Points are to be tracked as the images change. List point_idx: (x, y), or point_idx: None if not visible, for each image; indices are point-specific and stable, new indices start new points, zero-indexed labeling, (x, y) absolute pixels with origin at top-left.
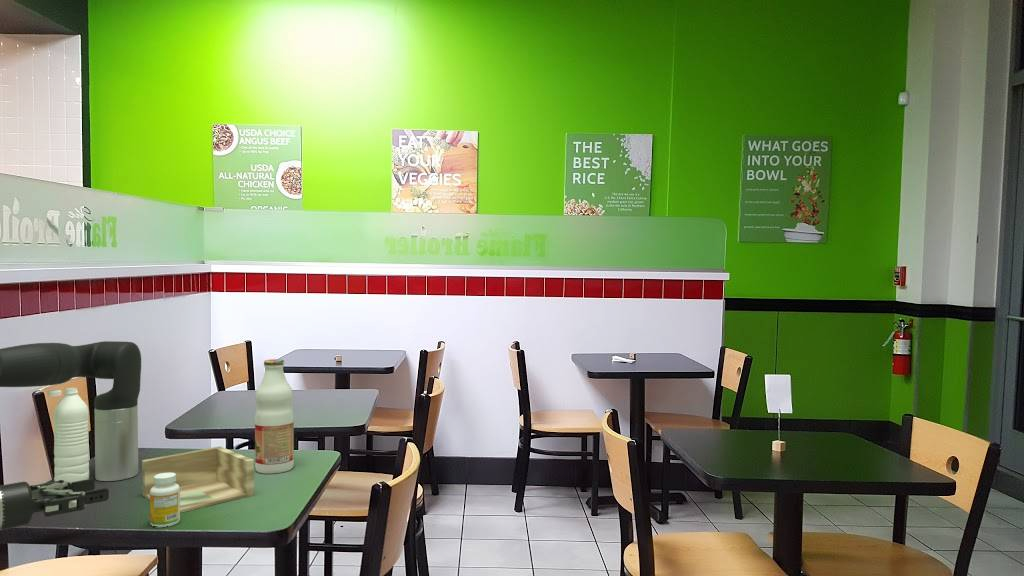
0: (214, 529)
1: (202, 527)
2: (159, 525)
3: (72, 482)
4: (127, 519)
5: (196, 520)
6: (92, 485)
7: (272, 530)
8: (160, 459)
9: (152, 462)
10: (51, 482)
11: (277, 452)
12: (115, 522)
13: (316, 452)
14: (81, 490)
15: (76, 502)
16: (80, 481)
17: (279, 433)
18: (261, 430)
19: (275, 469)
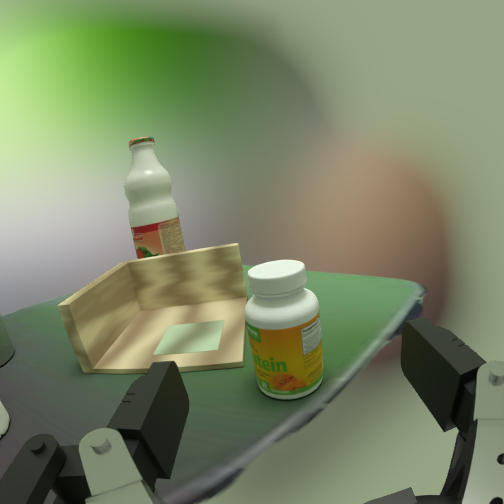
0: (385, 327)
1: (364, 339)
2: (317, 384)
3: (129, 426)
4: (189, 426)
5: None
6: (179, 388)
7: (420, 287)
8: (84, 294)
9: (77, 303)
10: (11, 481)
11: None
12: (185, 448)
13: None
14: (174, 435)
15: (2, 432)
16: (153, 397)
17: (177, 228)
18: (156, 229)
19: None
